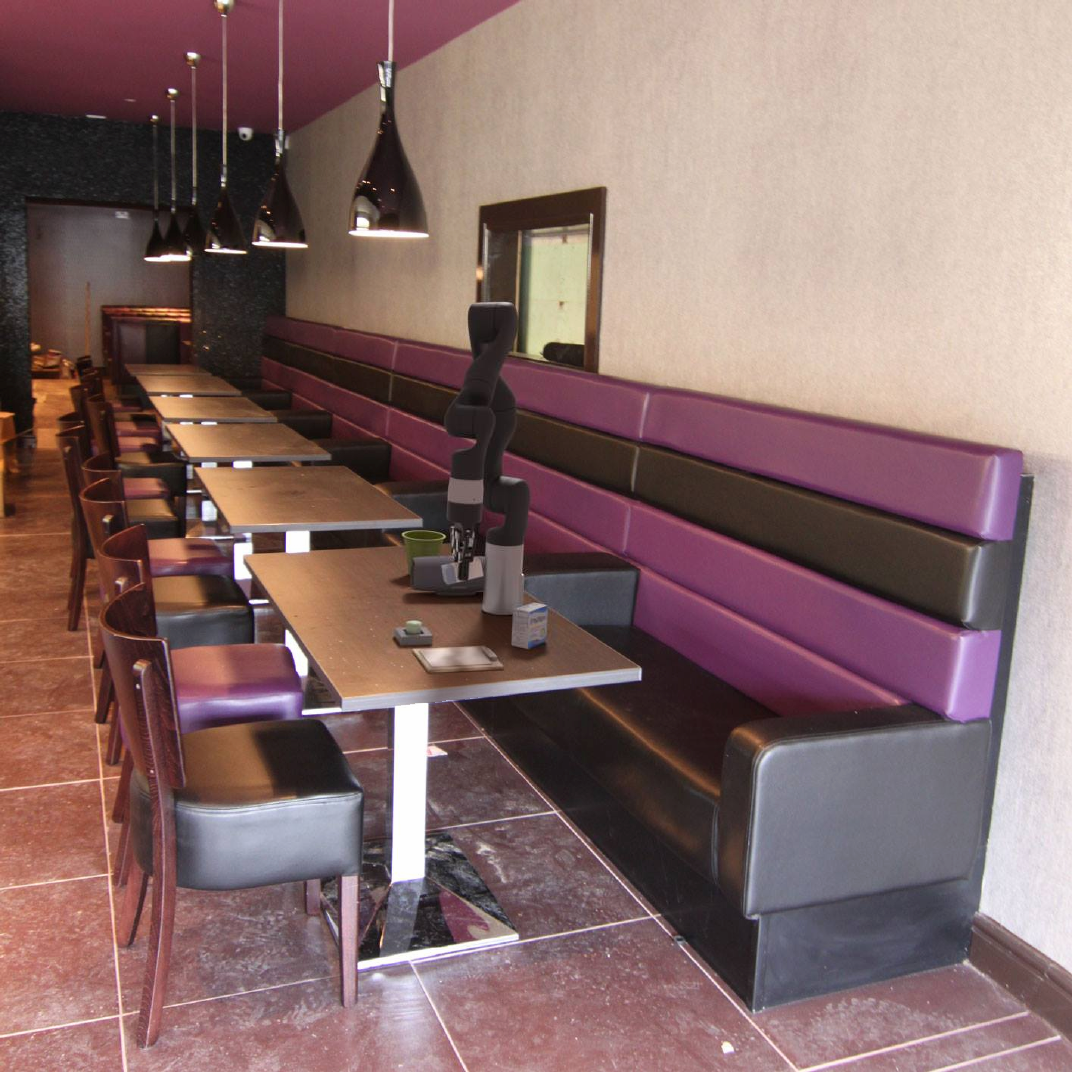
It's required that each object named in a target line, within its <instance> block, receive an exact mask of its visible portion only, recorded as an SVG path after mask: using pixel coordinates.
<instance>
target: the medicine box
mask: <svg viewBox="0 0 1072 1072" xmlns="http://www.w3.org/2000/svg"><path fill="white" fill-rule="evenodd" d="M548 608H549V606H548V605H547V604H542V603H538V602H530V603H528V604H523V606H521V607H518V608H516V609H513V614H512V628H511V631H512V632H511V646H513V647H517V648H521V649H524V650H531V649H532V648H535V647H537V646H539V645H542V644H543V643H545V642H547V629H548V628H547V627H548V614H549V613H548V612H549V611H548Z"/></svg>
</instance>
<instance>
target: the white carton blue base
mask: <svg viewBox="0 0 1072 1072" xmlns="http://www.w3.org/2000/svg"><path fill="white" fill-rule="evenodd" d="M458 564H459V562H455V563H450V564H446V565H442V566H441V568H442V573H443V579H444V581H445V582H446V583H447V584H448V585H449V584H453V583H457V582H461V581H460V580H459V579H458ZM481 576H483V571H482V565H481V560H479V559H478V558H477V557H475V558H474V560H473V562H471V563H469V577H468V580H469V579H473V578H477V577H481Z"/></svg>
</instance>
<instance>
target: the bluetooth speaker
mask: <svg viewBox="0 0 1072 1072" xmlns="http://www.w3.org/2000/svg"><path fill="white" fill-rule="evenodd" d="M465 557H467V555H465ZM475 557H477V558H478V559H479V560H481V565H482V571H483V576H481V577H477V578H473V579H469V580H466V581H461V582H457V583H453V584H449V585H448V584H447V583H446V582H445V581H444V579H443V573H442V568H441V566H442V565H446V564H450V563H454V559H455V558H453V556H452V555H439V556H432V557H417V558H412V563H411V569H410V575H409V584H410V587H411V589H412V590H413V591H421V592H434V593H435V595H437V596H472V595H473V596H474V595H476V593H477V592H483V588H484V569H485V556H481V555H479V556H478V555H477V556H475V555H474V558H475Z"/></svg>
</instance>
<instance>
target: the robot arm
mask: <svg viewBox="0 0 1072 1072" xmlns="http://www.w3.org/2000/svg"><path fill="white" fill-rule="evenodd" d="M467 329H468V336H469V343H470V351H471V355H472V356H471V357H472V362H471V363H470V364H469V366H468V368H467V370H466V373H465V375H464V379H463V381H462V386H461V389H460V390H459V392H458V394H457V396H456V397H455V398H454V399H453V401H452V402H451V403H450V405H449V406H448V408H447V411H446V413H445V416H444V421H443V422H444V423H443V424H444V430H445V432H446V433H447V434H448V435H449V436H450V437H452V438H456V439H457V438H459V439H468V440H470V439H471V440H475V443H474V445H473V446H472V447H469V448H461V449H457V450H454V451H453V452H452V454H451V458H450V469H449V470H450V472H449V474H450V475H449V476H450V477H449V483H448V487H447V488H448V489H447V503H446V504H447V507H446V519H447V521H448V522H451V523H454V525H453V526H449V527H450V528H449V532H450V533H449V536H450V554H452V555H451V556H453V558H455V559H454V563H455V562H459V564H458V579H459V580H460V581H466V580H468V577H469V563H471V562H473V560H474V556H475V553H476V548H477V543H478V539H477V537H475V531H474V529H473V528H474V526H473V525H474V524H478V523H481V522H482V520H483V507H484V509H485V511H486V512H488V513H493V514H498V515H504V522H503V524H502V525H500V526H495V527H491V528H488V529H487V531H486V534H485V553H484V554H485V555H484V557H485V569H484V588H483V591H482V592H483V593H482V611H483V612H485V613H488V614H491V615H497V616H510V615H512V616H513V609H516V608H518V607H521V606H524V591H525V590H524V589H525V574H523V563H524V562H523V561H524V544H525V537H526V534H527V528H528V521H529V513H530V512H529V511H530V501H531V489H530V486H529V483H528V482H527V481H526V480H525V479H521V478H519V477H518V478H517V477H513V476H512V477H510V476H504V473H503V457H504V453H505V451H506V449H507V447H508V445H509V444H510V442H511V440H512V438H513V436H514V434H515V432H516V430H517V426H518V413H517V412H518V411H517V402H516V396H515V393H514V392H513V389H512V388H511V387H510V385H509V383H508V382H507V381H506V380H505V378H504V377H503V376H502V374H501V373H500V372H501V370H502V369H503V366H504V364H505V362H506V360H507V359H508V356H509V354H510V352H511V350H512V348H513V345H514V343H515V341H516V338H517V334H518V329H519V314H518V310H517V308H516V306H515V305H514V303H512V302H509V301H508V302H506V301H500V302H499V301H493V302H491V301H489V302H488V301H487V302H473V303H472V304H470V305H469V308H468V311H467ZM489 344H490V345H489ZM488 345H489V346H488ZM466 554H467V555H466ZM465 556H467V557H465Z"/></svg>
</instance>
